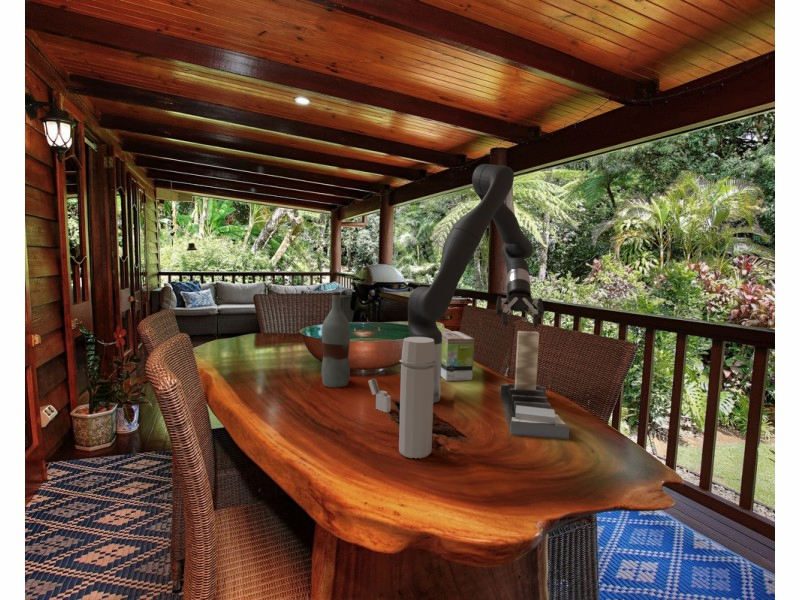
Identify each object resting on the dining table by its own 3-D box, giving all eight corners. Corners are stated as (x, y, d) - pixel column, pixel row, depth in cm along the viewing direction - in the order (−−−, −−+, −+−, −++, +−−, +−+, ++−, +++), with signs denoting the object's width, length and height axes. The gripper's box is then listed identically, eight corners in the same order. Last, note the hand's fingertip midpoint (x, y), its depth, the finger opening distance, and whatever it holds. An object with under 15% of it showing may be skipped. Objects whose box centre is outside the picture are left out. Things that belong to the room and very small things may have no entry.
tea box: (473, 380, 156) (475, 338, 154) (445, 381, 153) (447, 338, 152) (457, 369, 170) (459, 330, 168) (432, 370, 168) (433, 330, 166)
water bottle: (430, 462, 94) (434, 344, 91) (393, 458, 96) (396, 341, 93) (436, 444, 103) (440, 336, 100) (402, 440, 105) (405, 333, 102)
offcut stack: (514, 434, 106) (515, 415, 106) (511, 422, 114) (512, 404, 113) (565, 438, 105) (566, 419, 104) (558, 425, 112) (559, 408, 112)
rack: (510, 441, 106) (511, 418, 105) (499, 398, 136) (500, 380, 136) (568, 445, 104) (569, 422, 104) (544, 401, 135) (545, 383, 134)
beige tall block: (515, 401, 129) (518, 332, 127) (514, 398, 132) (517, 330, 130) (535, 403, 129) (539, 333, 127) (533, 399, 132) (537, 331, 129)
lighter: (390, 411, 124) (391, 382, 123) (386, 412, 122) (387, 384, 122) (371, 405, 128) (372, 377, 127) (367, 406, 127) (368, 378, 126)
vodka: (330, 389, 141) (330, 293, 138) (315, 382, 148) (316, 291, 145) (355, 384, 147) (356, 292, 144) (340, 378, 154) (341, 290, 151)
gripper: (497, 276, 146) (497, 316, 136) (543, 279, 144) (546, 319, 134) (495, 292, 152) (495, 331, 142) (538, 294, 150) (542, 334, 140)
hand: (520, 325), depth 138 cm, fingers open, 8 cm apart
